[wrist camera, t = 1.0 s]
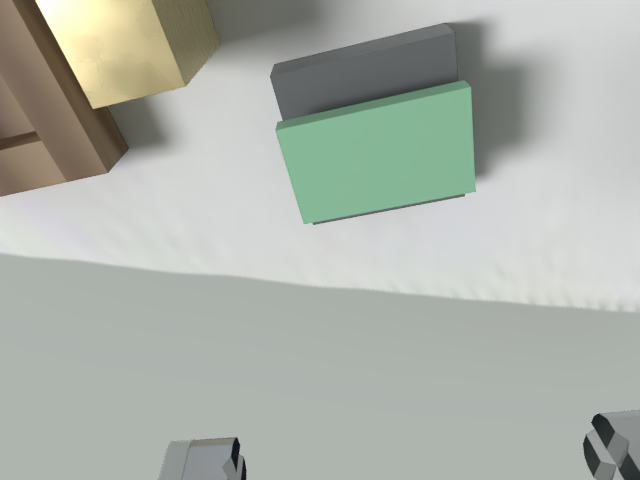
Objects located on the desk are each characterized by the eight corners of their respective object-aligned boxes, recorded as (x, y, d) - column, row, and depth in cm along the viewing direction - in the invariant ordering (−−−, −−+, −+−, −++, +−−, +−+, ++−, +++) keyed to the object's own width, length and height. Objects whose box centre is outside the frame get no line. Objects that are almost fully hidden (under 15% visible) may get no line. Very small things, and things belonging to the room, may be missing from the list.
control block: (444, 22, 26) (454, 31, 24) (455, 177, 31) (464, 196, 29) (274, 64, 27) (270, 76, 25) (314, 205, 33) (313, 224, 31)
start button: (456, 70, 25) (471, 86, 22) (462, 167, 28) (475, 191, 26) (280, 110, 26) (275, 130, 24) (305, 198, 30) (304, 224, 27)
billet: (190, -44, 24) (139, -30, 18) (220, 44, 27) (185, 86, 20) (113, -22, 25) (35, 0, 18) (149, 63, 27) (93, 109, 21)
